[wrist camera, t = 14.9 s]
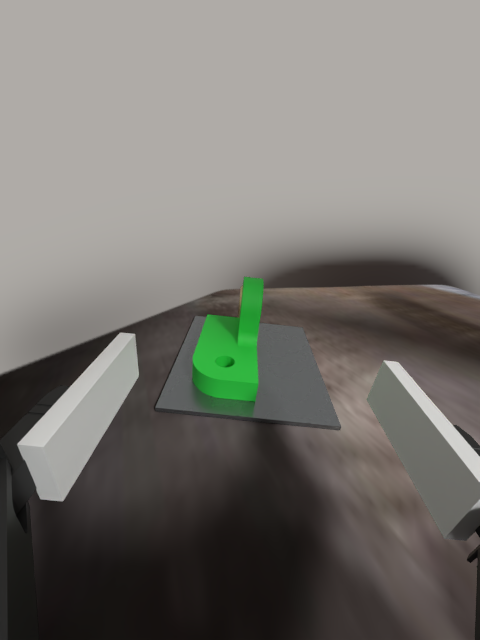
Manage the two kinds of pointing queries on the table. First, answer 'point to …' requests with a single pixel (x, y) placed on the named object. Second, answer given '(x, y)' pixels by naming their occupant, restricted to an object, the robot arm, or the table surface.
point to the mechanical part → (231, 349)
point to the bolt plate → (273, 382)
